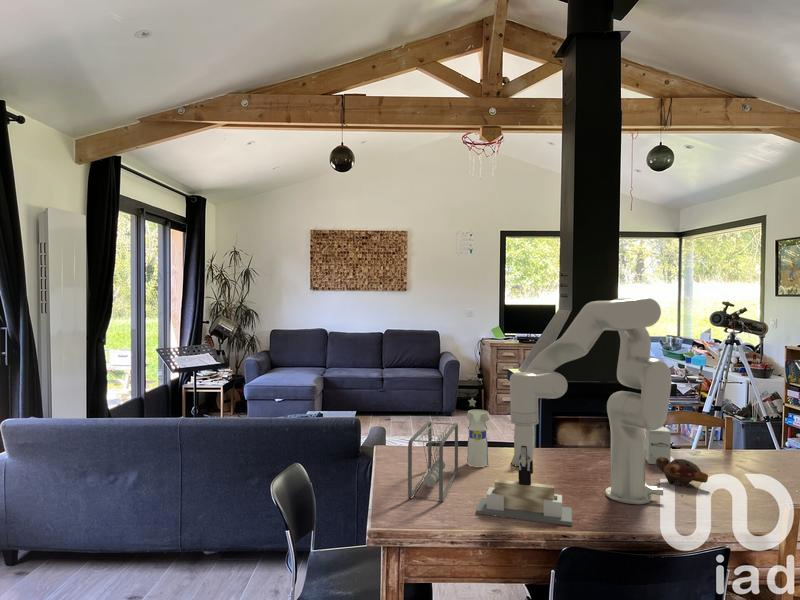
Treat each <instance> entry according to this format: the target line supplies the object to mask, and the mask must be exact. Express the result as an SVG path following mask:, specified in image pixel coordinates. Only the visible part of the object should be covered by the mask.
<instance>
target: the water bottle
mask: <svg viewBox="0 0 800 600" xmlns="http://www.w3.org/2000/svg"><path fill="white" fill-rule="evenodd" d="M467 401H468V402H469V407H474V408H475V407H476V405H475V404H476V402H477V401H476V400H474V398H473V397H471V399H468V400H467ZM466 418H467V419H468V421H469V424H468V426H467V428H468V439H467V458H466V464H467V463H468V464H470V465H473V466H486V465H488V466H489V453H488V452H489V450H488V447H489V446H488V438H487V430H488V427H487V423H486V422H487V421H489V420H490V418H491V415H490V413H489V411H488V410H485V409H470V410H468V411H467V414H466Z"/></svg>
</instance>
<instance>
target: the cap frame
mask: <svg viewBox="0 0 800 600" xmlns="http://www.w3.org/2000/svg"><path fill="white" fill-rule="evenodd" d="M476 513H477V514H476V515H481V514H486V515H485V516H489V515H496V516H495V517H497V516H503V517H502V518H505V517H510V518H509V519H513V518H516V519H515V520H521V521H522V520H523V521H528V522H529V521H530V522H538V523H547V524H555V525H563V526H570V527H572V526H573V514H572V513H573V512H572V507H567V506H563V495H562V494H556V493H554V500H548V499H544V513H539V512H531V511H523V510H514V509H506V508H504V495H503V494H495V487H491V486H489V488H488V490H487V492H486V497H481V499H480V501H479V504H478V506H477V508H476Z"/></svg>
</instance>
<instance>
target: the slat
mask: <svg viewBox="0 0 800 600" xmlns="http://www.w3.org/2000/svg"><path fill="white" fill-rule="evenodd" d="M494 488H495V494H503V495H504V508H506V509H514V510H523V511H531V512H539V513H544V499H548V500H554V494H555V485H554V484H545V483H537V482H536V483H533V482H531V485H530V486H528V485H519V481H515V480H505V479H495V480H494Z"/></svg>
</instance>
